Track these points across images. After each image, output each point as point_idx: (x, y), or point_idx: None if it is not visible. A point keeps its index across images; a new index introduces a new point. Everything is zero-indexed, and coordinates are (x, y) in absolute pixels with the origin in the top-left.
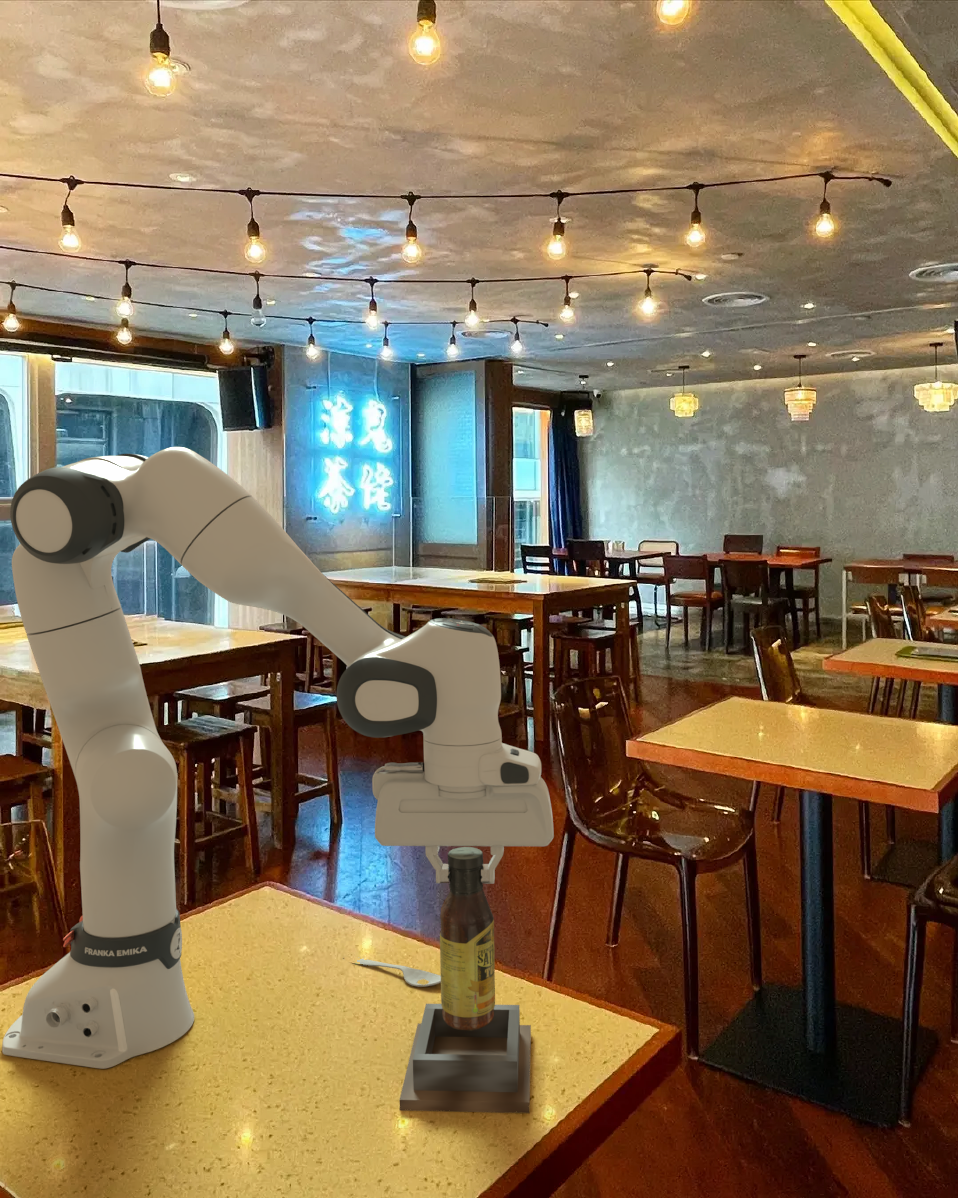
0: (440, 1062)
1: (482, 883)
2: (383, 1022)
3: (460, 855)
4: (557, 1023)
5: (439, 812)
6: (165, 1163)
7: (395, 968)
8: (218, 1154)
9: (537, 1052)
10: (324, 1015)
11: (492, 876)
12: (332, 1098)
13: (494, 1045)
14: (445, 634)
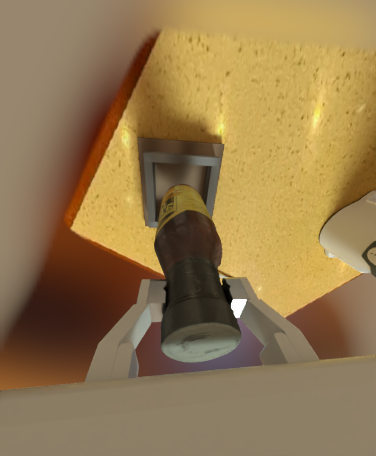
0: (200, 156)
1: (164, 280)
2: (227, 233)
3: (214, 336)
4: (132, 234)
5: None
6: (370, 85)
7: (219, 274)
8: (337, 95)
9: (140, 206)
10: (256, 239)
11: (142, 290)
12: (260, 159)
13: None
14: None
